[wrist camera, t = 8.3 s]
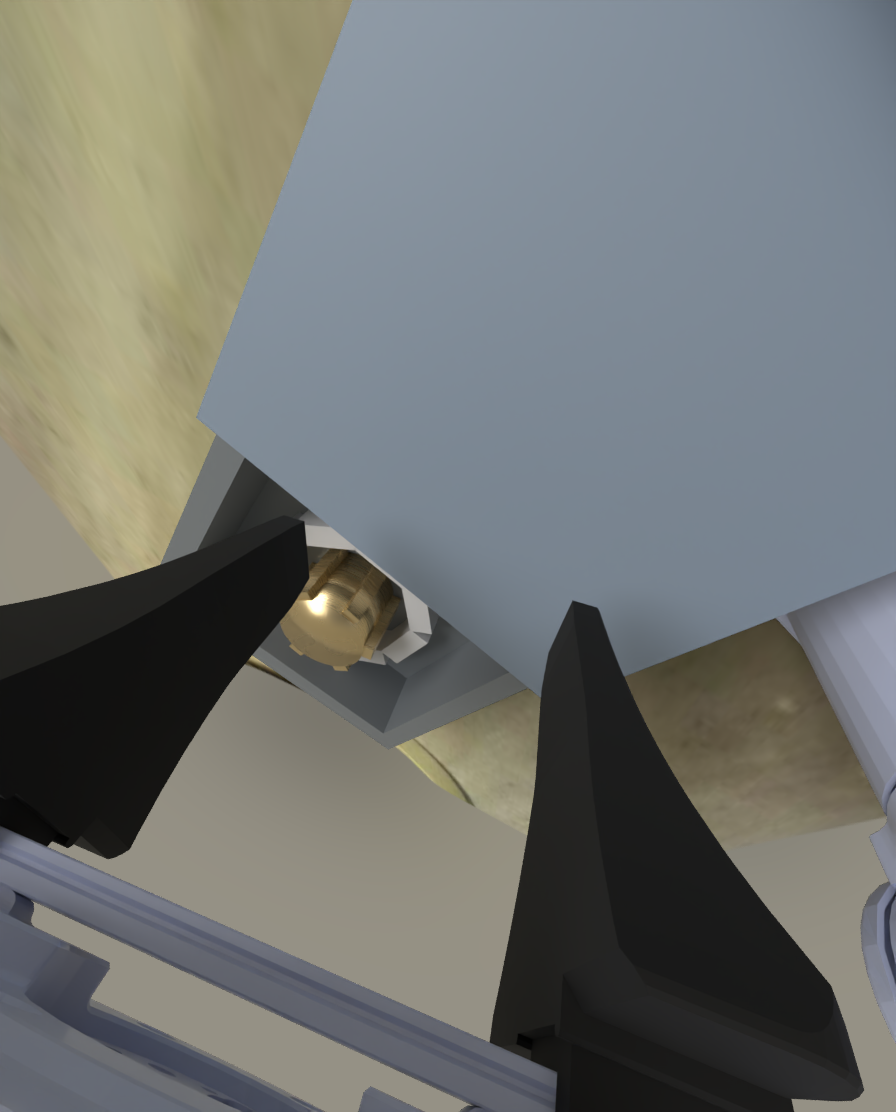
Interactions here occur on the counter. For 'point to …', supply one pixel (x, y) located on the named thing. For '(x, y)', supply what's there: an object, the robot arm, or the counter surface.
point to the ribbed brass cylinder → (341, 610)
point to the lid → (587, 313)
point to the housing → (405, 649)
